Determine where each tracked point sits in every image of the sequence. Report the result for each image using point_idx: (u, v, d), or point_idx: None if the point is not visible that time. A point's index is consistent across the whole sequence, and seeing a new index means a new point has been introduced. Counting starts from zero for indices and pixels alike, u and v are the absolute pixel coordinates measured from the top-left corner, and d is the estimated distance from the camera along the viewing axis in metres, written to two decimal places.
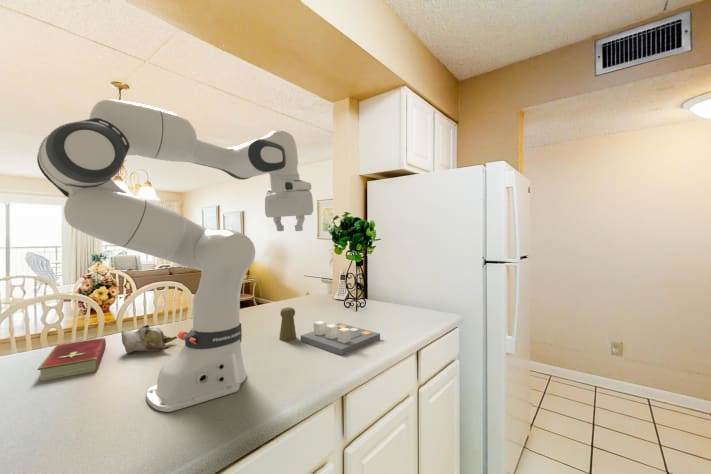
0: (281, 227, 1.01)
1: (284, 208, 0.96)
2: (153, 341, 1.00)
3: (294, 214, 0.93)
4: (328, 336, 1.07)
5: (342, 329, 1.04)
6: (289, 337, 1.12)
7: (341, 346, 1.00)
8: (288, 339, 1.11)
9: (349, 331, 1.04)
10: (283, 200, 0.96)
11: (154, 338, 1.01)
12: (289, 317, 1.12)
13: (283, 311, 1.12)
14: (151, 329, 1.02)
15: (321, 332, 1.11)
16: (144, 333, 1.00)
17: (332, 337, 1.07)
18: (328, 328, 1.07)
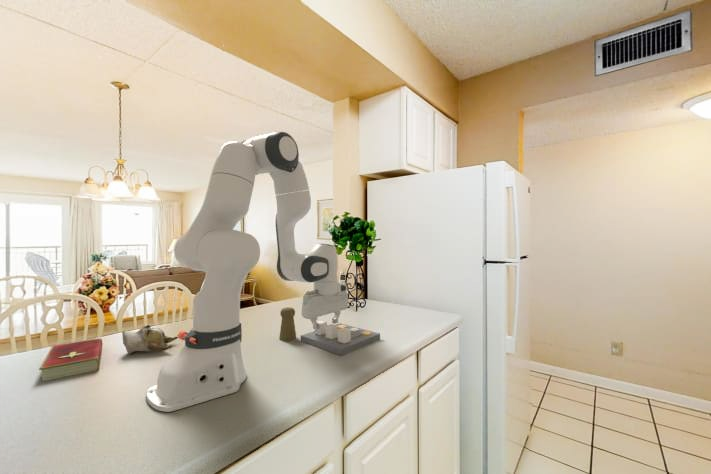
0: None
1: (331, 306, 1.14)
2: (155, 341, 1.00)
3: (339, 310, 1.18)
4: (328, 336, 1.07)
5: (342, 329, 1.04)
6: (289, 337, 1.12)
7: (341, 346, 1.00)
8: (288, 339, 1.11)
9: (349, 331, 1.04)
10: (329, 300, 1.14)
11: (156, 338, 1.01)
12: (289, 317, 1.12)
13: (283, 311, 1.12)
14: (152, 329, 1.02)
15: (323, 332, 1.12)
16: (146, 333, 1.00)
17: (332, 337, 1.07)
18: (328, 328, 1.07)
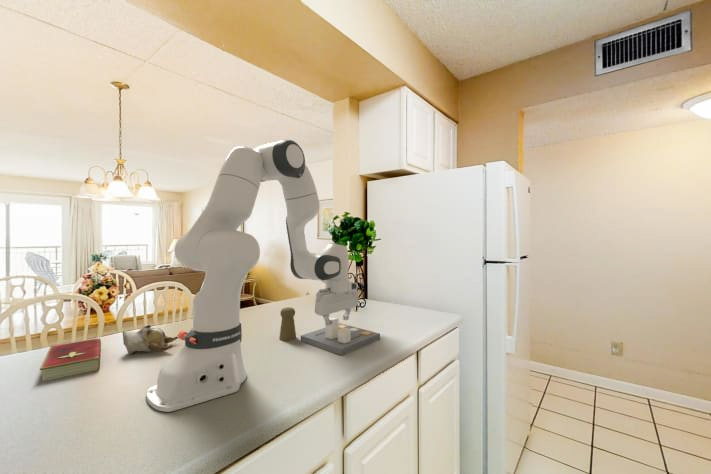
0: None
1: (342, 304, 1.19)
2: (155, 341, 1.00)
3: (350, 307, 1.22)
4: (328, 336, 1.07)
5: (342, 329, 1.04)
6: (289, 337, 1.12)
7: (341, 346, 1.00)
8: (288, 339, 1.11)
9: (349, 331, 1.04)
10: (340, 297, 1.18)
11: (156, 338, 1.01)
12: (289, 317, 1.12)
13: (283, 311, 1.12)
14: (153, 329, 1.02)
15: None
16: (146, 333, 1.00)
17: (332, 337, 1.07)
18: (328, 328, 1.07)
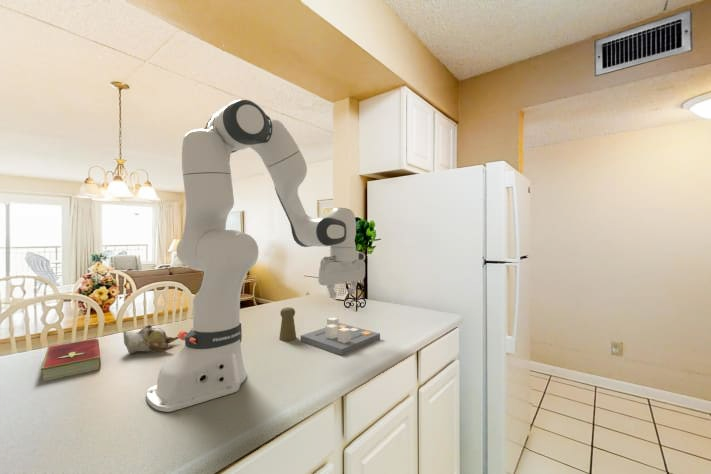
0: None
1: (348, 275, 1.08)
2: (156, 342, 1.00)
3: (356, 279, 1.12)
4: (328, 336, 1.07)
5: (342, 329, 1.04)
6: (289, 337, 1.12)
7: (341, 346, 1.00)
8: (288, 339, 1.11)
9: (349, 331, 1.04)
10: (346, 268, 1.08)
11: (157, 338, 1.01)
12: (289, 317, 1.12)
13: (283, 311, 1.12)
14: (154, 329, 1.02)
15: None
16: (147, 333, 1.00)
17: (332, 337, 1.07)
18: (328, 328, 1.07)
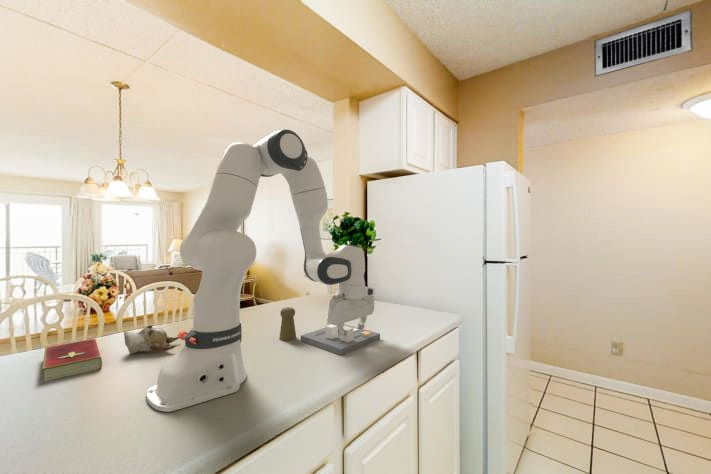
0: None
1: (358, 311, 1.07)
2: (157, 342, 1.00)
3: (366, 315, 1.10)
4: (328, 336, 1.07)
5: (345, 328, 1.05)
6: (289, 337, 1.12)
7: (341, 346, 1.00)
8: (288, 339, 1.11)
9: (352, 330, 1.05)
10: (356, 304, 1.07)
11: (158, 338, 1.00)
12: (289, 317, 1.12)
13: (283, 311, 1.12)
14: (154, 329, 1.02)
15: None
16: (148, 334, 1.00)
17: (332, 337, 1.07)
18: (328, 328, 1.07)
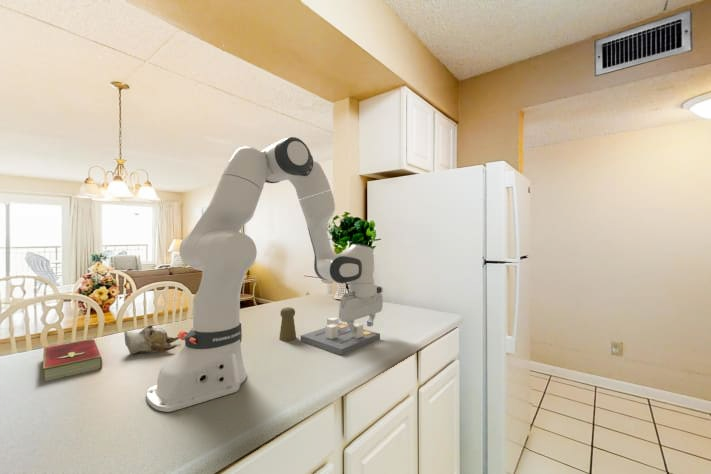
0: None
1: (367, 309, 1.11)
2: (158, 342, 1.00)
3: (375, 312, 1.14)
4: (328, 336, 1.07)
5: (355, 325, 1.09)
6: (289, 337, 1.12)
7: (341, 346, 1.00)
8: (288, 339, 1.11)
9: (362, 327, 1.09)
10: (365, 302, 1.11)
11: (159, 338, 1.00)
12: (289, 317, 1.12)
13: (283, 311, 1.12)
14: (155, 329, 1.02)
15: None
16: (149, 334, 1.00)
17: (332, 337, 1.07)
18: (328, 328, 1.07)
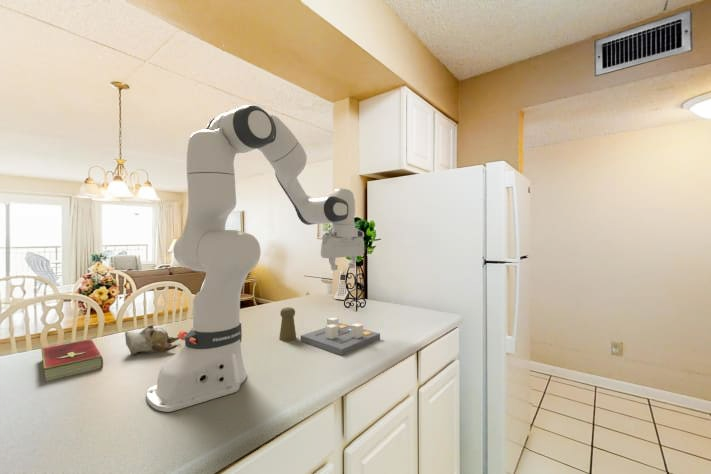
0: None
1: (348, 250, 1.19)
2: (159, 342, 1.00)
3: (356, 255, 1.22)
4: (328, 336, 1.07)
5: (355, 325, 1.09)
6: (289, 337, 1.12)
7: (341, 346, 1.00)
8: (288, 339, 1.11)
9: (362, 327, 1.09)
10: (347, 244, 1.18)
11: (159, 338, 1.00)
12: (289, 317, 1.12)
13: (283, 311, 1.12)
14: (156, 329, 1.02)
15: None
16: (150, 334, 1.00)
17: (332, 337, 1.07)
18: (328, 328, 1.07)
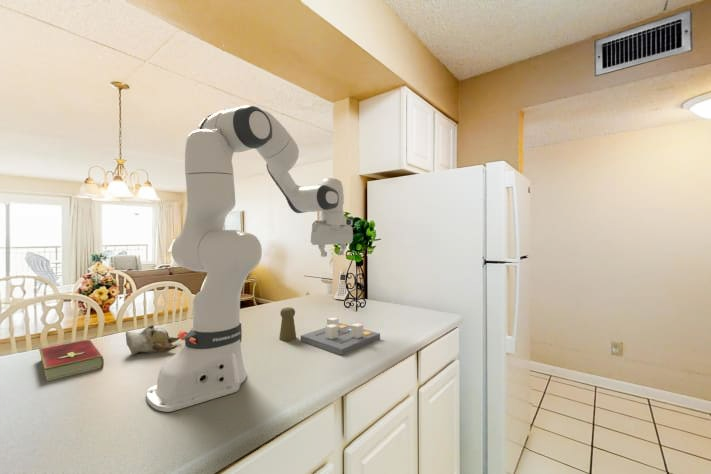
0: None
1: (337, 238, 1.24)
2: (160, 342, 1.00)
3: (345, 242, 1.27)
4: (328, 336, 1.07)
5: (355, 325, 1.09)
6: (289, 337, 1.12)
7: (341, 346, 1.00)
8: (288, 339, 1.11)
9: (362, 327, 1.09)
10: (336, 231, 1.23)
11: (160, 338, 1.00)
12: (289, 317, 1.12)
13: (283, 311, 1.12)
14: (156, 330, 1.02)
15: None
16: (150, 334, 1.00)
17: (332, 337, 1.07)
18: (328, 328, 1.07)
